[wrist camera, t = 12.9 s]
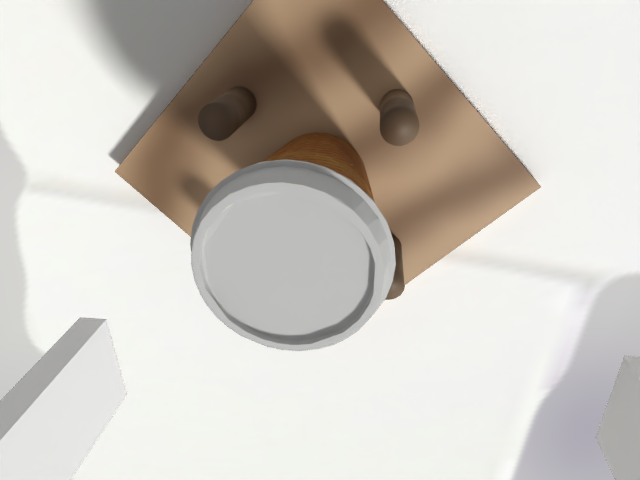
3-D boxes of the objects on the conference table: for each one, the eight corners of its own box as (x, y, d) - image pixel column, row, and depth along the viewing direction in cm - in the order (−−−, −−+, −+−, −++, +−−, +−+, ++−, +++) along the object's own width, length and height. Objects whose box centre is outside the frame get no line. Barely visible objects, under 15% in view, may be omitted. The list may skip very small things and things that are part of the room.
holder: (536, 181, 31) (568, 220, 25) (320, 338, 39) (310, 393, 33) (318, -76, 26) (302, -93, 20) (121, 166, 34) (73, 199, 28)
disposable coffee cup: (422, 175, 30) (444, 273, 20) (326, 267, 34) (300, 389, 24) (310, 72, 28) (266, 119, 18) (220, 182, 32) (141, 275, 22)
